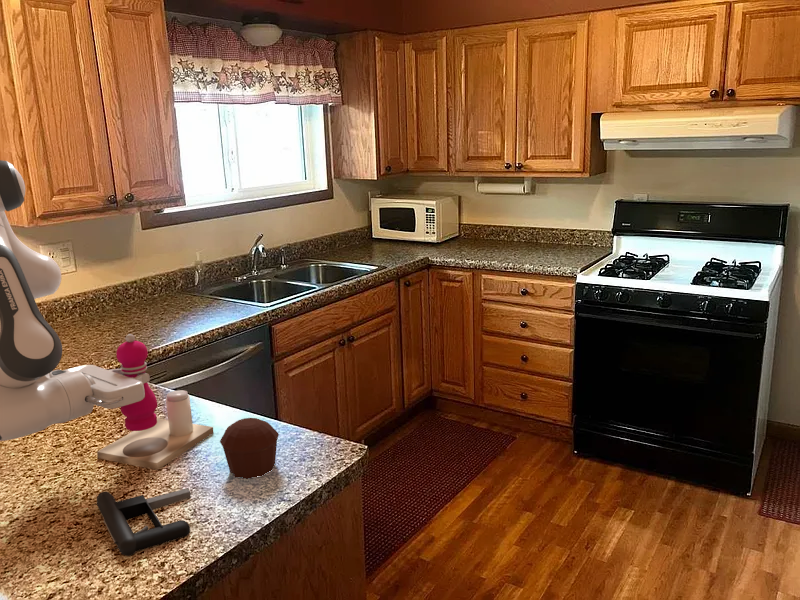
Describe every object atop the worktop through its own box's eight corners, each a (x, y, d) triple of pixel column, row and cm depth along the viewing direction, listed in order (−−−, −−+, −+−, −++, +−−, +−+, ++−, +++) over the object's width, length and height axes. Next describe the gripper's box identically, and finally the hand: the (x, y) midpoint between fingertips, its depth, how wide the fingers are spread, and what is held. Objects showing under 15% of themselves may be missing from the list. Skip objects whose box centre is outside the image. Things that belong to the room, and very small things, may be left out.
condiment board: (97, 458, 139) (96, 451, 139) (157, 423, 156) (157, 417, 155) (157, 469, 134) (156, 462, 133) (213, 433, 150) (212, 426, 149)
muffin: (293, 464, 134) (289, 419, 131) (250, 488, 125) (245, 439, 123) (254, 449, 141) (250, 406, 138) (211, 471, 132) (206, 424, 130)
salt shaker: (165, 434, 146) (160, 396, 144) (180, 425, 151) (175, 388, 148) (183, 437, 144) (178, 399, 142) (198, 428, 149) (193, 391, 147)
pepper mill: (164, 417, 143) (153, 328, 138) (153, 431, 136) (141, 338, 131) (130, 418, 143) (118, 329, 138) (117, 433, 136) (104, 340, 131)
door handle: (177, 472, 128) (87, 494, 119) (213, 517, 112) (113, 547, 103) (178, 487, 129) (89, 511, 120) (214, 535, 113) (114, 566, 104)
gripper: (99, 390, 120) (166, 368, 130) (45, 369, 132) (110, 351, 142) (104, 422, 121) (170, 398, 132) (50, 399, 133) (114, 378, 144)
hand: (139, 373), depth 137 cm, fingers closed on pepper mill, 5 cm apart
